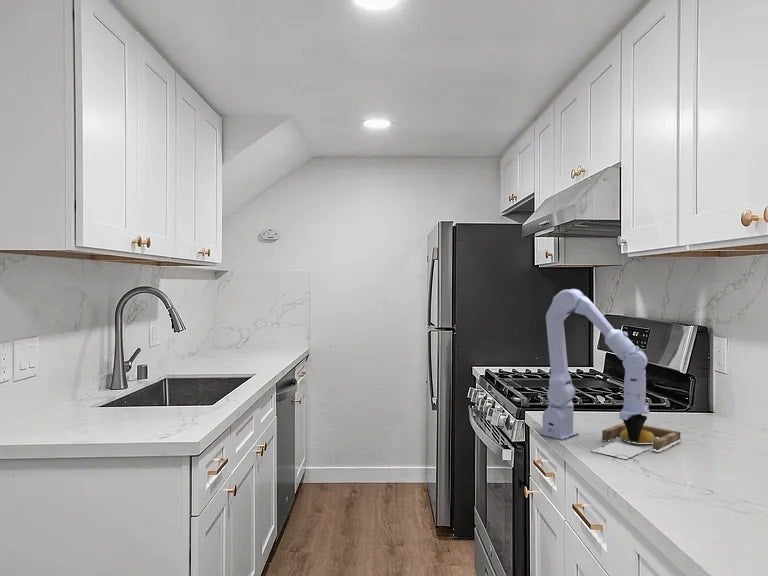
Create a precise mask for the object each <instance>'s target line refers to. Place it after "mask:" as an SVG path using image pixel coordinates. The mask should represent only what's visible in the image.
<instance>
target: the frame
mask: <svg viewBox="0 0 768 576" xmlns="http://www.w3.org/2000/svg"><path fill="white" fill-rule="evenodd" d="M625 429H626V426H625V423H624V422H622V423H619V424H616V425H613V426H611V427H609V428H608V427H607V428H605V429H603V430H602V431H601V433H602V434H601V435H602V436H601V441H602V440H606V441H608V440H611V439H613V440H615V439H614V438H616V437H618V438H620V437H619V436H621V433H622V432H623V431H624V430H625ZM642 430H645V431H649V432H651V433H652V434H653V435H654V437H659V439H655V440H654V441H653V444H652V450H653V449H656V450H659V449H661V448H663V447H665V446H667V445H669V444H671V443H673V442H675V441H677V440H679V439H680V440H681V431H678V430H672V429H671V430H670V429H665V428H660V427H655V426H650V425H645V424H644V425H643V427H642ZM616 439H617V438H616ZM611 441H612V440H611ZM608 442H609V441H608Z"/></svg>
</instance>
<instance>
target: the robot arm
mask: <svg viewBox="0 0 768 576" xmlns="http://www.w3.org/2000/svg"><path fill="white" fill-rule="evenodd" d="M571 313H575V314H578V315H582V316H585V317H586V318H587V319H588V320H589V321H590V322H591V323H592V324H593V325H594V326H595V327H596V328H597V329H598V330H599V331H600V332H601V334H603V335H604V343H605V344H606V345H607V347H608V348H609V349H610V350H611V351H612V352H613V353H614V354H615V356H616V357H617V358H618V359H619V360H621V361H622V366H623V368H624V378H623V379H624V381H623V382H624V383H623V384H624V385H623V407H622V409H621V411H619V417H618V418H619V420H622V421H623V423H625V426H626V428H627V432H628V437H629V440H630V441H635V442H637V441H638V440H639V437H640V433H641V430H642V427H643V425H645V423H646V421H647V419H648V416H647V415H648V414H650V410H649V409H650V408H649V407H650V406H649V405H647V404H646V399H647V398H646V393H647V377H646V376H647V373H646V372H647V371H646V367H647V365H648V357H647V355H646V354H645V352H644V351H643V350H641V349H640V347H639V346H638V345H635V344H634V343H633V342H632V341H631V339H630V338H629V337H628V336H629V333H627V332H626V331H622V330H621V329H615V328H614V327H613V326H612V325H611V324H610V322H609V321H608V320H607V318H606V317H605V316H604V314H602V313H601V312H600V310H599V309H598V308H597V306H596V305H594V303H593V302H592V301H591V299H589V297H587V296H586V295H584V293H583V291H581V290H580V289H577V288H571V289H570V288H569V289H568V288H567V289H562V290H561V291H559V292H558V293H557V294H556V295H554V296H553V297H552V302H551V304H550V306H549V307H548V310H547V312H546V314H545V323H546V333H547V335H546V336H547V345H548V346H547V347H548V356H549V365H550V377H549V379H548V380H549V381H548V390H547V393H546V398H547V400H548V406H547V408H546V409H545V410H543V413H542V430H541V431H540V432H539V435H542V436H545V437H550V438H554V439H559V440H562V441H564V440H566V439H568V437H569V438H571V437H570V436H572V437H574V436H573V435H575V436H577V435H579V434H580V433H579V432H577V431H574V406H575V405H574V402H573V399H574V398H575V395H576V388H575V386H574V384H573V383H572V377H571V375H570V373H569V365H568V356H567V355H568V354H567V345H566V343H567V342H566V335H565V325H564V324H565V323H564V321H565V320H566V319H567V318H568V317H569V316H570V315H571ZM642 414H645V415H642ZM646 414H647V415H646ZM576 434H577V435H576ZM565 438H566V439H565Z"/></svg>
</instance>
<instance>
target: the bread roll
mask: <svg viewBox="0 0 768 576" xmlns="http://www.w3.org/2000/svg"><path fill="white" fill-rule="evenodd" d="M620 438H621V439H620V440H622V439H623V440H625V441H630V440H629V437H628V432H627V428H626V429H625V430H624V431H623V432H622V433H621V437H620ZM623 440H622V441H623ZM654 440H656V439H655V437H654V435H653V434H652V433H651V432H649V431H645V430H641V433H640V437H639V440H638V441H637V442H636V443H652V442H653V441H654ZM625 441H624V442H625ZM630 442H635V441H630Z"/></svg>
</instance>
